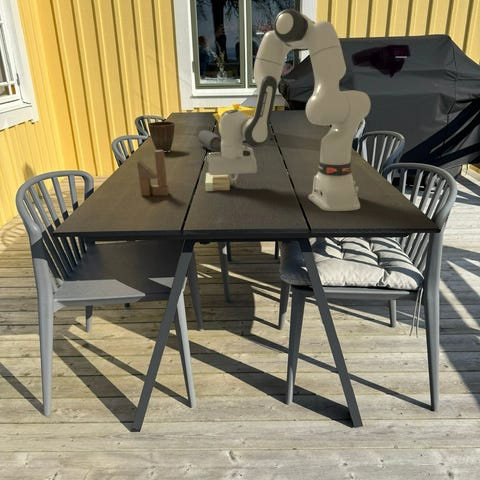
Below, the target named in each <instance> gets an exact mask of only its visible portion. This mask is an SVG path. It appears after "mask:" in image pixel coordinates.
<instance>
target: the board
mask: <svg viewBox="0 0 480 480" xmlns="http://www.w3.org/2000/svg"><path fill="white" fill-rule="evenodd" d="M212 180H213V175H210V174H209V172H206V173H205V183H204V184H205V185H204V186H205V192H214V190H213V181H212Z"/></svg>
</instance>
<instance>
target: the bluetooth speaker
mask: <svg viewBox="0 0 480 480" xmlns="http://www.w3.org/2000/svg"><path fill="white" fill-rule="evenodd" d="M197 140H198V142H199V143H200V145H202V146H203V147H204V148H205V149H206V148H207V149H206V150H207V151H209V150H211V151H210V152H220V151H221V136H219V135H218V134H216V133H215V132H213V131H209V130H206V129H205V130H203V129H202V130H200V132H198V136H197Z"/></svg>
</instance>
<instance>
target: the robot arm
mask: <svg viewBox="0 0 480 480" xmlns="http://www.w3.org/2000/svg"><path fill="white" fill-rule="evenodd" d="M257 50H258V51H257V53H256V55H255V61H254V66H253V76H252V77H253V79H254V82H255V84H256V87H257V94H258V95H257V100H256V105H255V108H254V109H255V114H254V117H252V116H248V115H246V114H244V113H242V112H240V111H239V110H237V109H234V110H228V111H225V112H224V113H222V115H221V117H220V132H219V135H220V138H221V150H220V151H210V152H209V153H208V154H207V155H206V161H207V163H208V173H209V174H210V175H228V177H229V181H230V184H231V185H236V184H237V179H238V178H239V174H240V175H241V174H256V173H257V171H258V165H257V159H256V156H255V155H254V150H253V148H262V147H264V146H266V145H267V144H268V143H269V142H270V139H271V137H272V129H271V120H272V119H271V117H272V113H273V108H274V104H275V100H276V95H277V90H278V86H279V82H280V79H281V76H282V73H283V70H284V66H285V62H286V58H287V55H288V54H289V52H290V51H292V52H295V53H297V52H303V51H308V52H309V58H310V62H311V65H312V71H313V77H314V88H313V93H312V94H311V96H310V97H309V99H308V101H307V102H306V104H305V105H306V106H305V115H306V117H307V119H308V121H309V123H310V124H313V125H319V126H331V128H330V129H329V131H328V133H327V134H326V135H325V136H323V138H322V139H321V141H320V154H319V156H320V157H319V161H318V165H317V168H318V170H317V174H316V175H314V177H313V183H312V185H313V186H312V193H310V194H308V197H307V199H308V200H310V201H311V202H312V203H314V204H315V205H316V206H317V207H318V208H320V209H321V210H322V211H328V212H348V211H356V210H359V209H361V203H360V201H359V197H358V193H359V186H355V185H356V180H354V178H353V174H352V162H351V158H352V157H351V155H352V148H353V141H354V139H355V138H354V137H355V135H356V133H357V130H358V127H359V126H360V124H361V122H362V121H363V120H364V119H365V118H366V117H367V116H369V115H368V114H369V113H370V110H371V99H370V96H368V94H367V93H366V92H363V91H359V90H353V89H352V90H340V80H341V79H342V78H344V76H345V74H346V72H347V65H346V62H345V58H344V55H343V49H342V45H341V41H340V38H339V36H338V34H337V31H336V29H335V26H334V25H333V23H332V22H331V21H328V20H320V21H318V22H315V21H313V20H312V19H310V18H309V17H308V16H307V15H305V14H304V13H301V12H299V10H296V9H291V8H289V9H288V8H287V9H283V10H282V11H280V12H279V13H278V14H277V16H276V18H275V20H274V22H273V30H269V31H267V32H266V33H264V35H263V37H262V40H261V42H260V43H259V47H258V49H257ZM245 141H246V143H247V144H248V145H249V146H250V147H248V146H245V145H243V142H245ZM232 175H234V178H232Z"/></svg>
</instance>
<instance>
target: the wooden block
mask: <svg viewBox="0 0 480 480" xmlns="http://www.w3.org/2000/svg"><path fill="white" fill-rule="evenodd" d="M154 158H155V169H156V172H155V171H153V170H152V168H150V167H149V166H148V165H147V164H146V163H144V161H142V160H141V159H138V160H137V170H138V171H137V172H138V179H139V187H140V195H141V196H143V197H145V196H146V197H149V196H151V195H152V196H163V197H164V196H166V197H167V196H168V195H169V192H170V188H169V185H168V181H167V171H166V161H165V159H166V158H165V153H164V151H163V150H156V149H155V150H154ZM154 179H156V180H157V184H151V183H152V182H151V180H154Z"/></svg>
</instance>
